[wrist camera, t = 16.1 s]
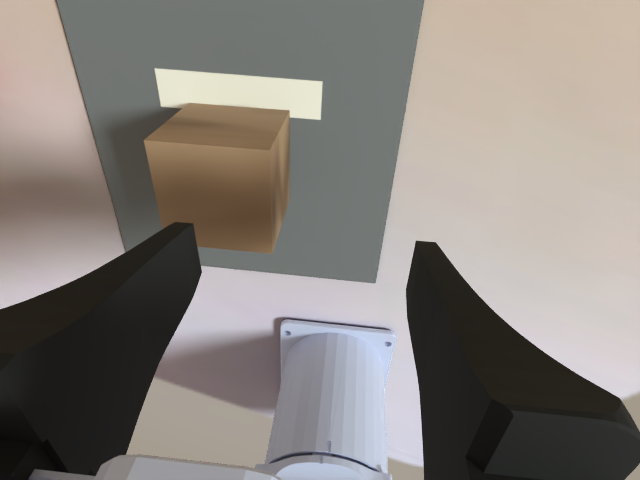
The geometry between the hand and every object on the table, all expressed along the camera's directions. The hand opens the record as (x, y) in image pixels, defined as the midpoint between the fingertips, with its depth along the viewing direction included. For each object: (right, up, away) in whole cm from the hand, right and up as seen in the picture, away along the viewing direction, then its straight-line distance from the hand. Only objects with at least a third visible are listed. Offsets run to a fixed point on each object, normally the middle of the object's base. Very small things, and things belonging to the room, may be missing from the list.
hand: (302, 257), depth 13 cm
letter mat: (-3, +5, +8) cm, 10 cm away
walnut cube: (-4, +5, +8) cm, 10 cm away
